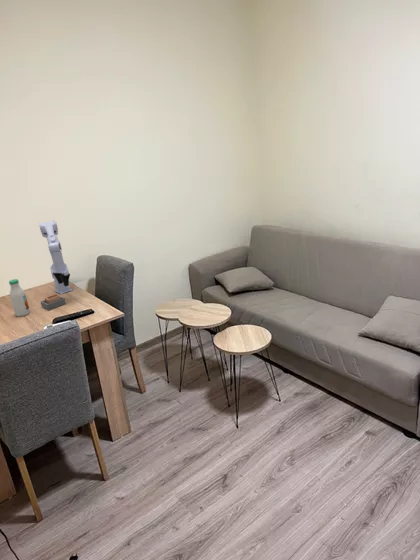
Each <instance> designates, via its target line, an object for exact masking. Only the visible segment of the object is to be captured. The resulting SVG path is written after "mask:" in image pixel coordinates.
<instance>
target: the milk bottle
mask: <svg viewBox="0 0 420 560" xmlns="http://www.w3.org/2000/svg"><path fill="white" fill-rule="evenodd" d="M8 284H9V286H10V291H9V297H10V302H11V306H12V308H13V312H14V315H15V317H23V316H26V315H29V314H30V312H31V310H30V307H29V302H28V299H27V296H26V293H25V291H24V289H23V288H22V287H21V286H20V282H19V279H17V278H14V279H11V280H9V281H8Z"/></svg>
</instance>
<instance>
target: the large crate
mask: <svg viewBox="0 0 420 560" xmlns="http://www.w3.org/2000/svg"><path fill="white" fill-rule="evenodd" d="M60 297H61V299H60V300H57V301H55V302H52V303H49V304H47V303H46V301H45V299H44V300H41V301H40V305H41V307H42V308H43V309H45V310H47V311H51V310H53V309H57V308H59V307H62V306H64V305H67V302H66V298H64V297H62V296H61V295H60Z"/></svg>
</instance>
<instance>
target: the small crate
mask: <svg viewBox="0 0 420 560" xmlns="http://www.w3.org/2000/svg"><path fill="white" fill-rule="evenodd" d="M60 296H61V294H59V293H53V294H51V295H48V296H45V297H44V300H45V301H46V303H47V304H49V303H52V302H55V301H57V300H60V299H61V297H62V296H61V297H60Z"/></svg>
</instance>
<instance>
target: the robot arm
mask: <svg viewBox="0 0 420 560" xmlns="http://www.w3.org/2000/svg"><path fill="white" fill-rule="evenodd" d="M38 226H39V230H40V234H41V236H42V237H43V238H45V239H46V241H47V247H48V251H49V254H50V256H51V260H52V264H51V265H50V268H49V269H50V273H51V277H52V279H53V285H54V288H55V290H54V292H55V293H57V294H59V295H62V294H66V293H69V292H71V291H74V289H73V288H71V286H70V276H71V274H70V273H69V269H68V265H67V263H65V262H64V261H65V260H64V257H63V253H62V245H61V242H60V241H59V239H58V235H59V229H58V224H57V221H56V220H50V221H44V222H39V224H38Z"/></svg>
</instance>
